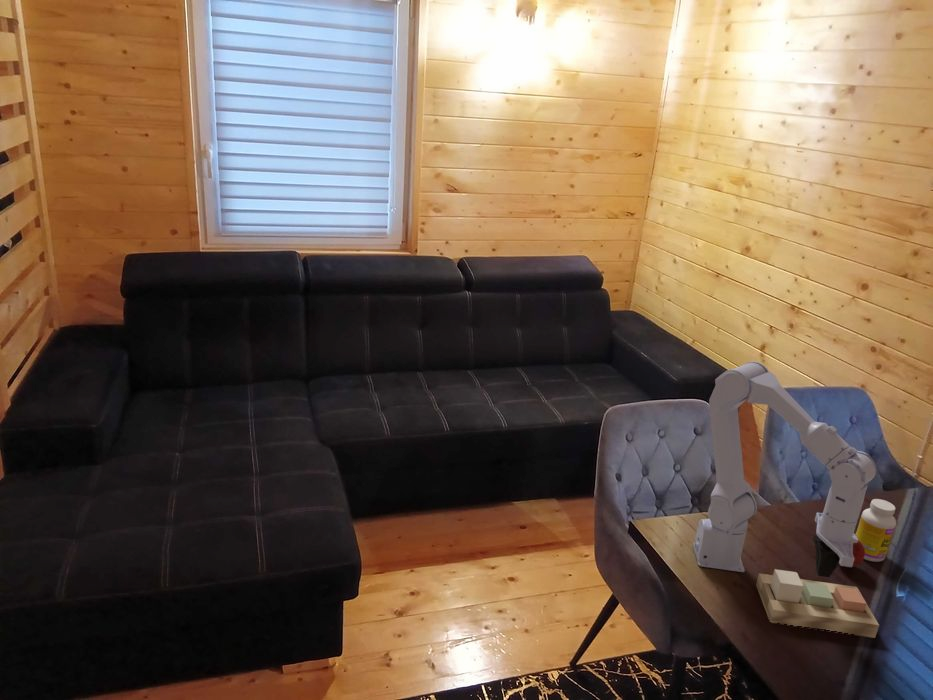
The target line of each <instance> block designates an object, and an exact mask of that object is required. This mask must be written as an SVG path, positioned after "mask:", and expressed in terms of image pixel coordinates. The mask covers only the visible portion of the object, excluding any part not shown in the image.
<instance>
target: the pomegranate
mask: <svg viewBox="0 0 933 700" xmlns="http://www.w3.org/2000/svg"><path fill="white" fill-rule="evenodd" d="M853 534H854V535H856V533H853ZM856 536H857V535H856ZM853 556H854V558H855V559H854V562H853V566H852V567H855V566H857V565H860V564H861V563H862V562H863V560H865V559H864V556H865V549H864V547H863V545H862V543H861V542H860V541H859V540H858V542H857V543H853Z"/></svg>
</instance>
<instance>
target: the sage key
mask: <svg viewBox="0 0 933 700" xmlns="http://www.w3.org/2000/svg"><path fill="white" fill-rule="evenodd" d="M802 595H803V597H804V599H805V601H806V603H807V605H812V606H819V607H826V608H831V607H832V603H833V600H834V598H833V597H832V595H831V593H830V591H829V589H828V587H827V585H824V584H817V583H810V582H804V584H803V589H802Z"/></svg>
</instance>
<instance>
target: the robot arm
mask: <svg viewBox="0 0 933 700" xmlns="http://www.w3.org/2000/svg"><path fill="white" fill-rule="evenodd" d="M714 382H715V386H714V388H713V390H712V393H711V395H710V397H709V400H708V405H709V417H710V425H711V436H712V447H713V456H714V467H715V475H716V484H715V486H714V488H713V490H712V492H711V494H710V504H709V507H708V510H707V515H708V518H702V519H701V518H700V519H699V521H698V523H697V528H696V533H695V539H694V542H693V543H692V546H693V550H694V554H695V557H696V561H697V565H698V566H699V567H701V568H703V567H704V568H708V569H717V570H723V571H731V572H738V573H745V571H746V570H745V567H744V565H743V562H742V559H741V557H742V552H743V548H744V545H745V544H744V543H745V540H746V537H747V531H748V529H749V528H748V525H749V518H751V517H753V516H755V514H756V513H757V511H758V510H757V509H758V503H757V501H756V498H755V497H754V495H753V493H752V486H751V484H749V483H748V482H747V481H745V475H744V474H745V473H744V472H745V471H744V465H743V464H744V462H743V461H744V460H743V453H742V443H741V432H740V431H741V430H740V422H739V421H740V420H739V407H740V406H741V405H742V404H743V403H745V402H746V401H747V403H748V404H758V405H766V406H768V407H769V408H770V409H771V410H773V411H774V412H775V413H776V414H777V415H779V416H780V418H782V419H783V420H785V422H787V423H788V424H789V425H790V427H792V428H793V429H794V430H796V431H797V432H798V433H799V434H800V442H801V444H802V445H803V446H804V448H806V450H807V451H808V452H810V453H811V454H812V455H813V456H814V457H815V458H816V459H817V461H819V462H820V463H821V464H822V465H823V466H824V467H825V468H826V469H827V470H828V471H829V474H828V475H829V478H830V481H831V485H830V487H829V491H828V494H827V497H826V501H825V505H824V508H823V510H822V512H816V514H815V517H814V522H815V523H816V532H815V533H816V534H815V535H813V537H812V539H813V543H814V547H815V571H816V572H815V573H817V575H818V576H819V577H823V578H830V577H831V576H832V575H833V573H834V571H835V570H836V569H837V567H838V566H839V565H840V566H841V567H846V568H853V567H854V566H853V562H854V559H855V558H854V556H853V543H857V542H858V538H857V537H856V535H854V534H855V530H856V527H857V523H858V521H859V517H860V514H861V511H862V508H863V504H864V501H865V495H866V492H867V488H868V483H869V482H871V481H872V480H873V479H874V478H875V476H876V474H877V465H876V463H875V461H874V459H873V458H872V457H871V456H870V454H868V453H867V452H864V451H861V450H857V449H856V448H855V447H854V446H853V447H852V446H850V444H849V443H847V441H845V440H844V438H842V437H841V436H840V435H839V434H838V433H837V432H838V429H837V428H836V427H835V426H833V425H830V426H829V425H828V423H826V422H823V421H822V422H820V421H815V420H814V419H813V418H812V417H811V416H810V415H809V414H808V412H807V411H805V409H804V408H803V407H802V406H801V405H800V404H799V403H798V402H797V401H796V400H795V399H794V398H793V396H791V395H790V394H789V393H788V391H787V390H786V389H785V388H784V387H783V386H782V385H781V384H780V382H779V379H778V377H777V376H776V374H775V373H773V372H772V371H769V369H768V367H766V366H765V365H764V364H763V363H762V362H759V361H748V362H746V363H745V364H743V365H740V366H738V367H735V368H732V369H727V370H725V371H724V372H723V373H721V374H720V375H719V376H718V377H716V378H715V380H714Z"/></svg>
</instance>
